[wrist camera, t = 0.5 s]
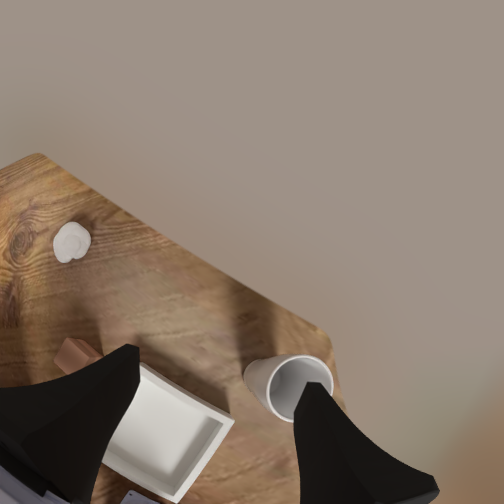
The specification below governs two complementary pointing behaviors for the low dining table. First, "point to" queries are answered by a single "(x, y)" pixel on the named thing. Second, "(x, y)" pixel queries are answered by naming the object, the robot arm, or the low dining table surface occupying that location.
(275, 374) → the drinking glass
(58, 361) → the copper brown block
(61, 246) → the dumpling
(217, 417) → the bin
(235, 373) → the low dining table surface
